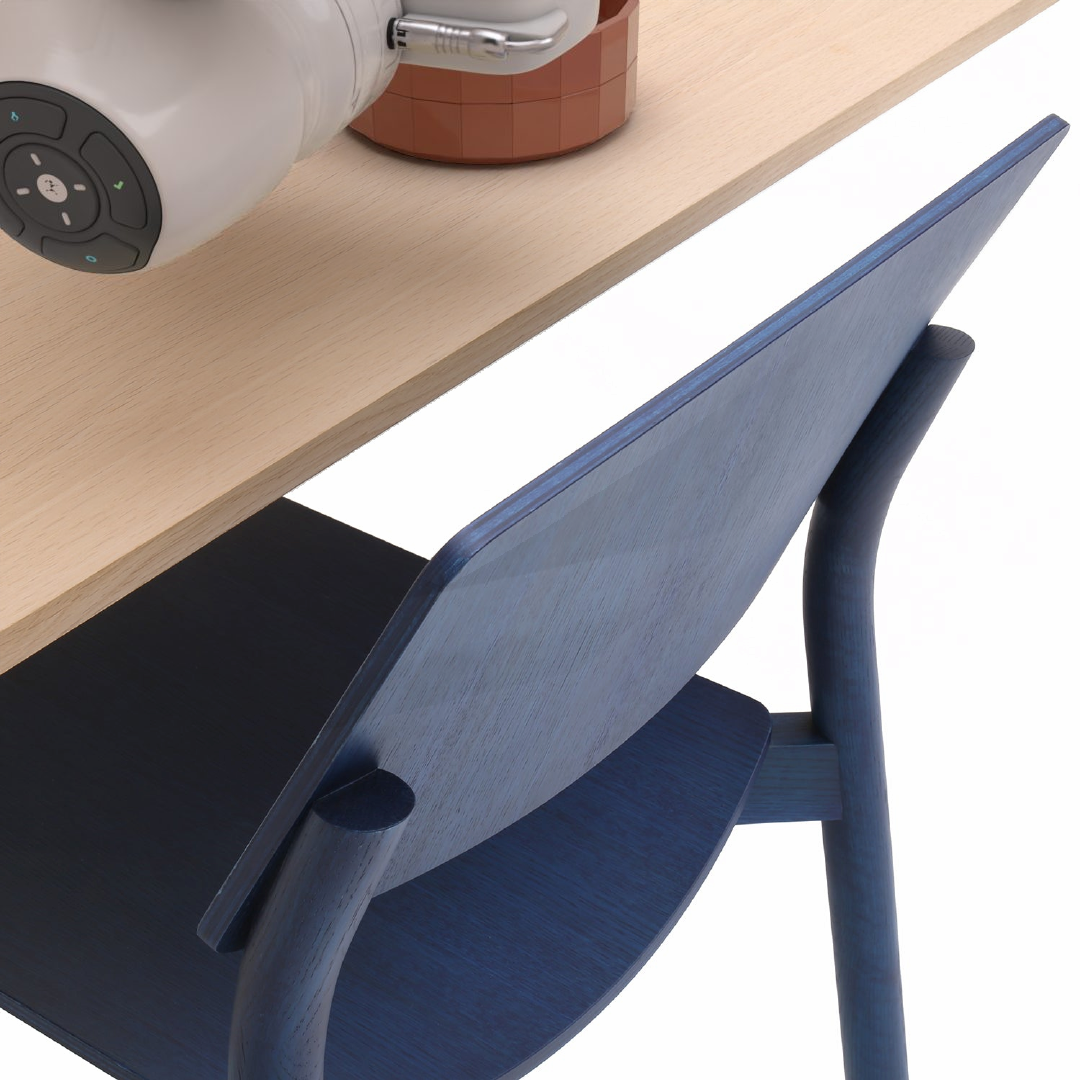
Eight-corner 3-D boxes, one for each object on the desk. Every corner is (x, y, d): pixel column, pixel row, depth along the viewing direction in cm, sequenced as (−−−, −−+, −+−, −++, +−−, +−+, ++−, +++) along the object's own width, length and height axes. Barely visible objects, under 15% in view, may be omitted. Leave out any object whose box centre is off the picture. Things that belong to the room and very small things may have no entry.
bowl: (383, 188, 79) (376, 63, 75) (307, 77, 90) (298, -36, 87) (681, 146, 83) (687, 26, 80) (571, 45, 95) (573, -64, 91)
